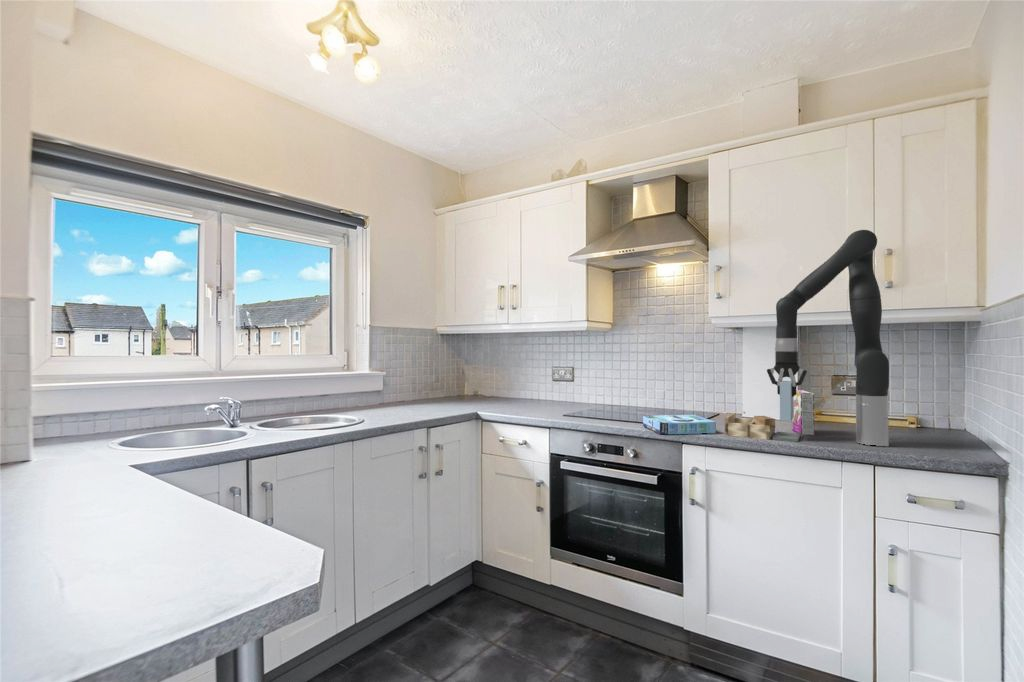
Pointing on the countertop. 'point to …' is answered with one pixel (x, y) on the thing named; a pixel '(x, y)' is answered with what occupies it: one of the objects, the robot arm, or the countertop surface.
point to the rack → (746, 428)
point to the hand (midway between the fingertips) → (786, 395)
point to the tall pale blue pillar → (786, 401)
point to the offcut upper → (764, 421)
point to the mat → (787, 436)
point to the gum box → (679, 424)
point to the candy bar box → (803, 413)
